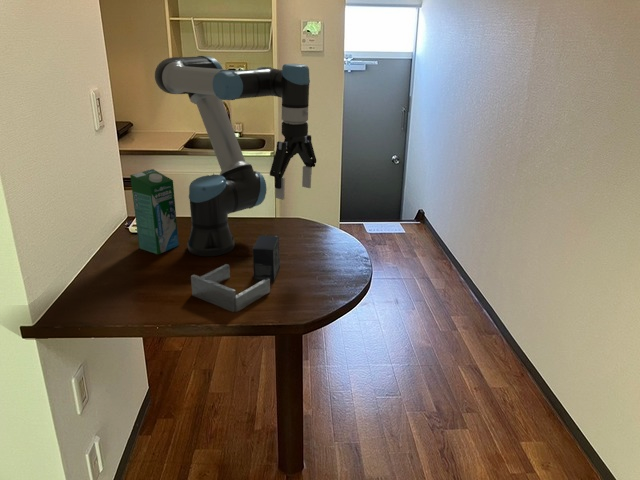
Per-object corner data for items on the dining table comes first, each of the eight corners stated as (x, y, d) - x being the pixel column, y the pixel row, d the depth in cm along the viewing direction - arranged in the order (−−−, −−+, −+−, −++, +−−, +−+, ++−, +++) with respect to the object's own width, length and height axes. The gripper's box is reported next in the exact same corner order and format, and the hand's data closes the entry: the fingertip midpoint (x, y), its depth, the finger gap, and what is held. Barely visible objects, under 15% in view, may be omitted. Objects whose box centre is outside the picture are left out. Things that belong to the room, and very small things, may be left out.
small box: (259, 265, 163) (258, 234, 159) (280, 266, 163) (280, 235, 159) (252, 280, 154) (251, 247, 149) (274, 282, 153) (274, 249, 149)
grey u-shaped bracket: (190, 294, 145) (189, 275, 143) (226, 276, 156) (225, 257, 153) (235, 313, 136) (234, 292, 134) (270, 291, 147) (269, 272, 145)
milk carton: (158, 254, 169) (150, 179, 159) (138, 248, 173) (129, 174, 164) (179, 245, 176) (172, 172, 166) (160, 239, 180) (152, 168, 171)
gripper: (278, 130, 138) (278, 206, 147) (329, 117, 158) (326, 185, 166) (256, 126, 142) (257, 200, 150) (308, 113, 161) (306, 180, 170)
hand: (293, 192), depth 158 cm, fingers open, 13 cm apart
